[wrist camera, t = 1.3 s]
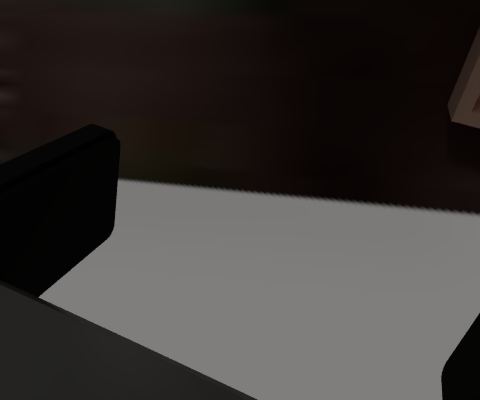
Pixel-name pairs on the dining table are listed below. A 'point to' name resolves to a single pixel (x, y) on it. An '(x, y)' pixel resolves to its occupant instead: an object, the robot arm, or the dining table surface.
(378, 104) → the dining table surface
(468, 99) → the brown shallow rectangular tray
